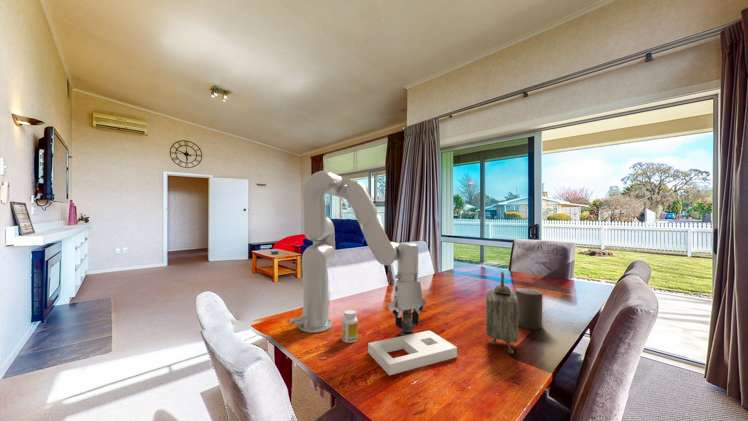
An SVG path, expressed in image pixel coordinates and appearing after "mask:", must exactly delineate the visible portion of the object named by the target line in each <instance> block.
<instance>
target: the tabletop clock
mask: <svg viewBox="0 0 748 421" xmlns="http://www.w3.org/2000/svg"><path fill="white" fill-rule="evenodd" d="M500 278H501V279H500V284H498V285H496V287H495V288H494V289H491V290H488V291H486V295H485V298H486V301H485V303H486V304H485V305H486V306H485V309H486V310H485V311H486V312H485V331H486V332H485V335H487V336H488V337H490V338H491V339H492V340H491V344H492V345H493V346H495V345H497V344H498V342H497V340H500V341H504V342H505V345H506V346H507V348H508V350H507V352H508V354H509V355H513V354H514V350H513V349H512V348H511V346H510V342H513V343H518V339H519V336H518V333H519V326H518V300H517V296H516V294H515V292H516V291H515V292H514V291H511V289H510V287H508V286H507V285H505V273H504V271H501V273H500Z"/></svg>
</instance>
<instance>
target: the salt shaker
mask: <svg viewBox="0 0 748 421" xmlns="http://www.w3.org/2000/svg"><path fill="white" fill-rule="evenodd" d="M401 315H402V328H400V330H401V331H400V332H399V334H400V336H405V335H410V334H415V332H414V329H415V326H416V325H415V323H414V322H412V309H410V310H403V311H402V314H401Z"/></svg>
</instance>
